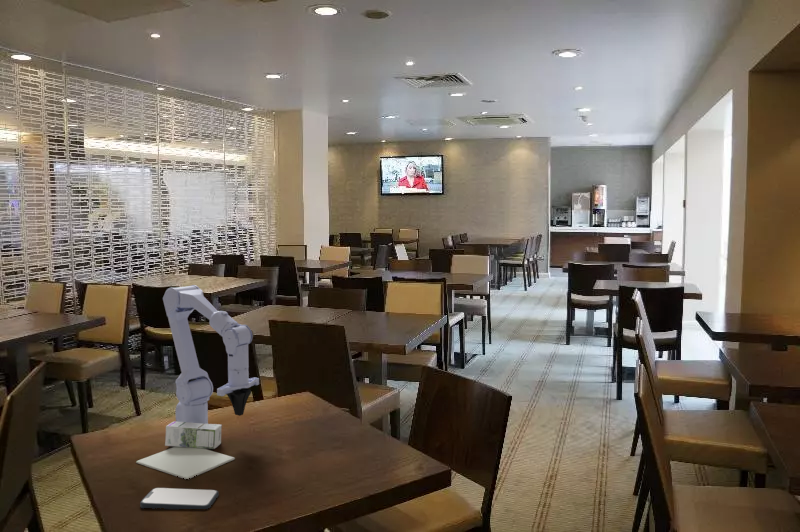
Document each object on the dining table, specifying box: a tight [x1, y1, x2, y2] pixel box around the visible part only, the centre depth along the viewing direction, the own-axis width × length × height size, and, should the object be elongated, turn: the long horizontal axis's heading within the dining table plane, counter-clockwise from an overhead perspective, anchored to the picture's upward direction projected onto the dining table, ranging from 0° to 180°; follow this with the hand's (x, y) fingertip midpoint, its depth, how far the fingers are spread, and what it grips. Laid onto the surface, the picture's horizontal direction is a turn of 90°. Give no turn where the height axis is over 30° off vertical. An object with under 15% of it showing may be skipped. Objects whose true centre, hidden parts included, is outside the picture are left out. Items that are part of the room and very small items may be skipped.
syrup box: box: [164, 420, 223, 450], centre depth 189 cm, size 6×6×14 cm
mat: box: [135, 446, 236, 480], centre depth 179 cm, size 20×16×1 cm
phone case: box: [139, 487, 220, 510], centre depth 155 cm, size 9×2×16 cm
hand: (239, 414), depth 192 cm, fingers closed
